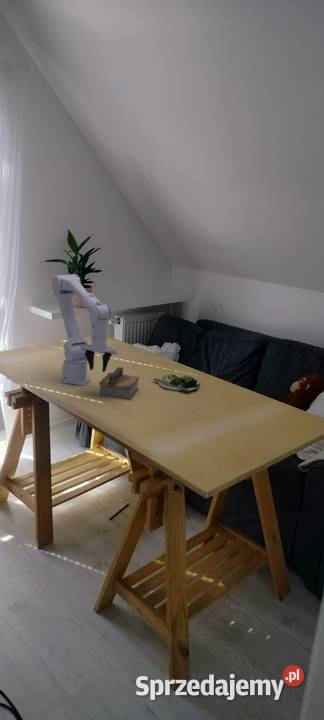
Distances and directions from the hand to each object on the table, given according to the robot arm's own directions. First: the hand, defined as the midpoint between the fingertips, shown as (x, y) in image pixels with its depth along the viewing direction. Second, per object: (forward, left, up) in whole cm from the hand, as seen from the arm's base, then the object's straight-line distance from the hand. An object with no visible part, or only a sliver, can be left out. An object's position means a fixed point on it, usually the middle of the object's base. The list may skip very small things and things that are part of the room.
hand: (97, 370), depth 198 cm
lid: (+8, +5, -5) cm, 10 cm away
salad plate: (+30, +21, -10) cm, 38 cm away
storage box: (+8, +5, -9) cm, 13 cm away
